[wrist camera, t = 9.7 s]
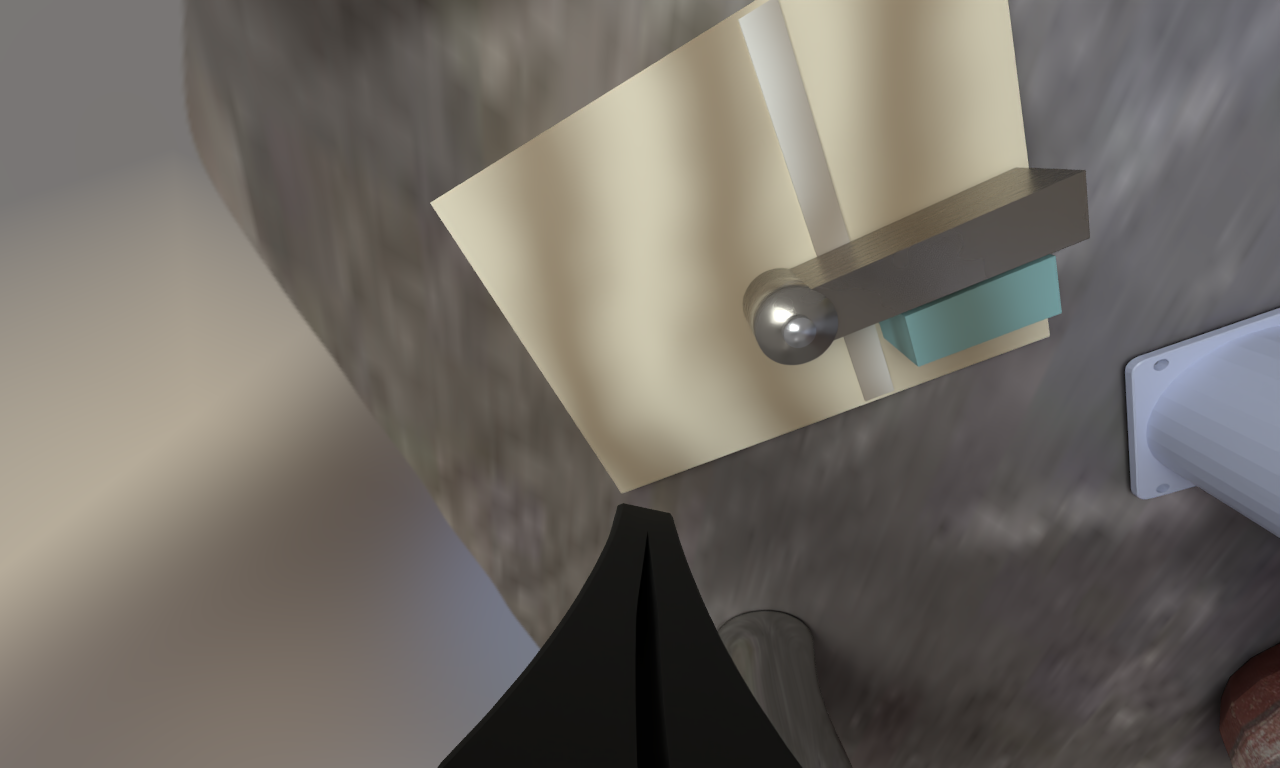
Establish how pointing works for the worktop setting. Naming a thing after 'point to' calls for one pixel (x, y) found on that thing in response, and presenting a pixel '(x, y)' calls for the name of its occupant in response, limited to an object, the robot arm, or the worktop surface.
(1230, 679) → the pottery
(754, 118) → the board
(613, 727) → the robot arm
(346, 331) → the worktop surface
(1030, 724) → the worktop surface
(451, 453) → the worktop surface
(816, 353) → the swing bar
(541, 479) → the worktop surface
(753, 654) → the beer glass
